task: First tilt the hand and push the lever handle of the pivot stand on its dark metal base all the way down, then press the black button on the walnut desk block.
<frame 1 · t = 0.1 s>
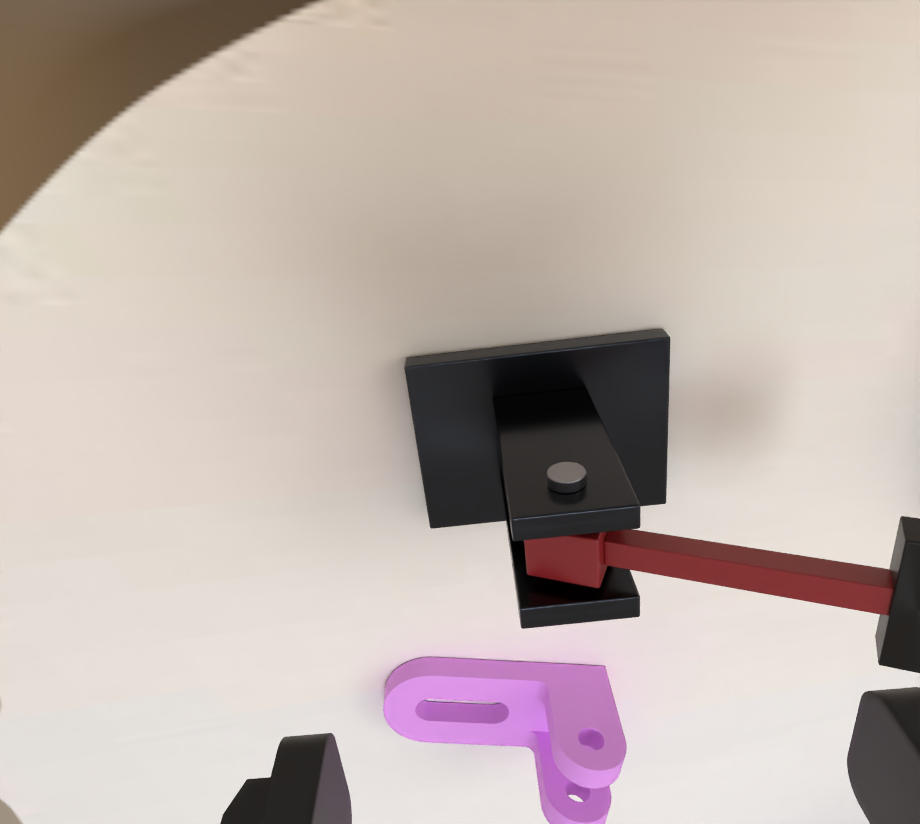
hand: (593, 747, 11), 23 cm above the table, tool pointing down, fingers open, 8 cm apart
lever handle: (714, 563, 24), point 11 cm above the table, hinge at 25.0°
pivot stand: (539, 427, 34), on the table
bracket: (491, 691, 42), on the table
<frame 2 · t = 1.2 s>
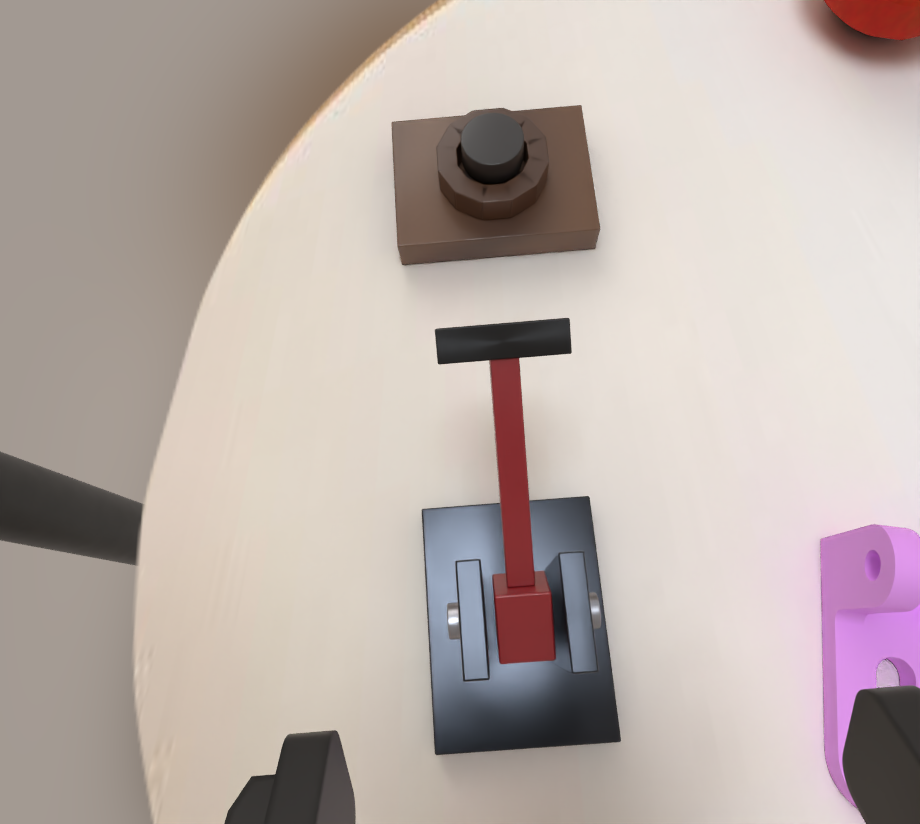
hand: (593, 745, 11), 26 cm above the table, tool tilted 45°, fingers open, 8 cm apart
lever handle: (513, 491, 27), point 11 cm above the table, hinge at 25.0°
desk button: (492, 148, 40), point 4 cm above the table, slide at 0.1 cm
button block: (492, 195, 44), on the table
apple: (868, 14, 47), on the table
pivot stand: (515, 619, 36), on the table
bracket: (878, 675, 35), on the table
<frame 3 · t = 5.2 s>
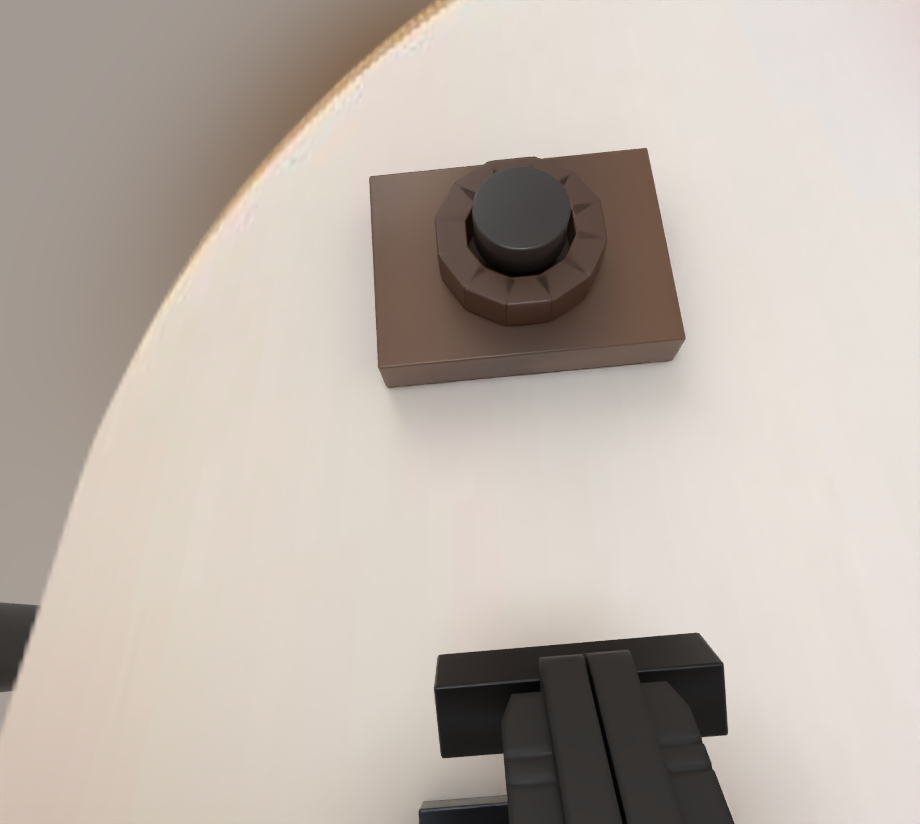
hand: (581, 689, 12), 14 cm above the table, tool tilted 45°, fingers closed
desk button: (520, 220, 26), point 4 cm above the table, slide at 0.1 cm
button block: (517, 279, 30), on the table
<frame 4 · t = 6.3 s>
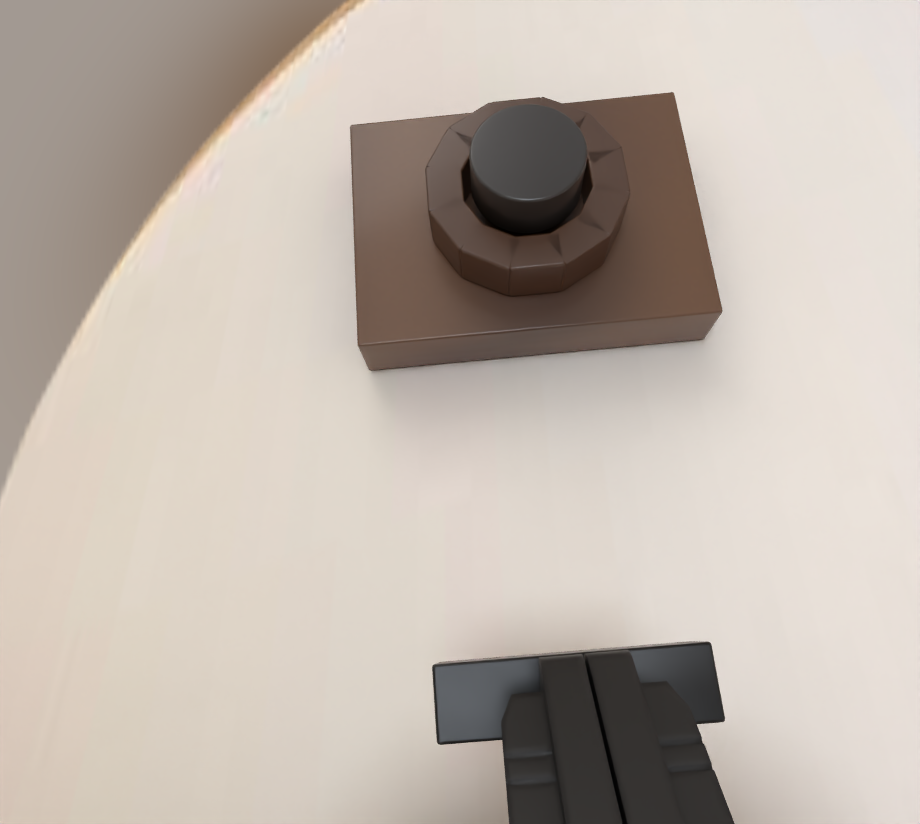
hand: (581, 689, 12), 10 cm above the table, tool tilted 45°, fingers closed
desk button: (527, 169, 22), point 4 cm above the table, slide at 0.1 cm
button block: (522, 246, 26), on the table
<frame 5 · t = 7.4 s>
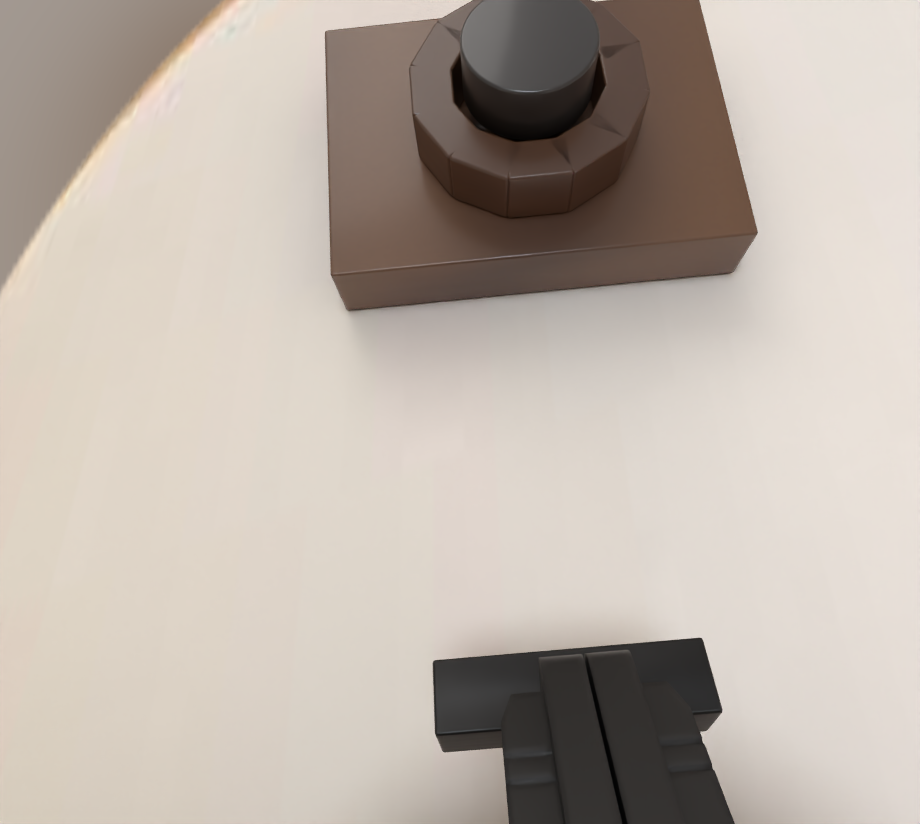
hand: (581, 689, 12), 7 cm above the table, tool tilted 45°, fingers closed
desk button: (528, 63, 19), point 4 cm above the table, slide at 0.1 cm
button block: (522, 171, 23), on the table
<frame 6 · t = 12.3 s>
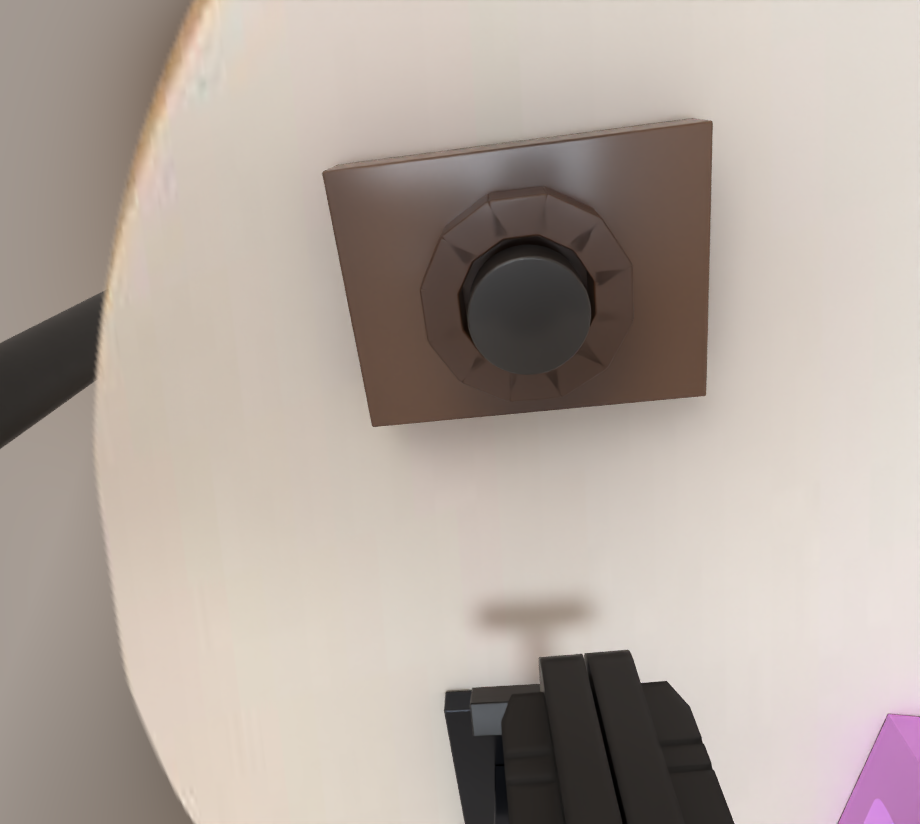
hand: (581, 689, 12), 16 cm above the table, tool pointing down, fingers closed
desk button: (527, 309, 21), point 4 cm above the table, slide at 0.1 cm
button block: (522, 274, 25), on the table
pivot stand: (546, 772, 36), on the table
bracket: (898, 806, 36), on the table
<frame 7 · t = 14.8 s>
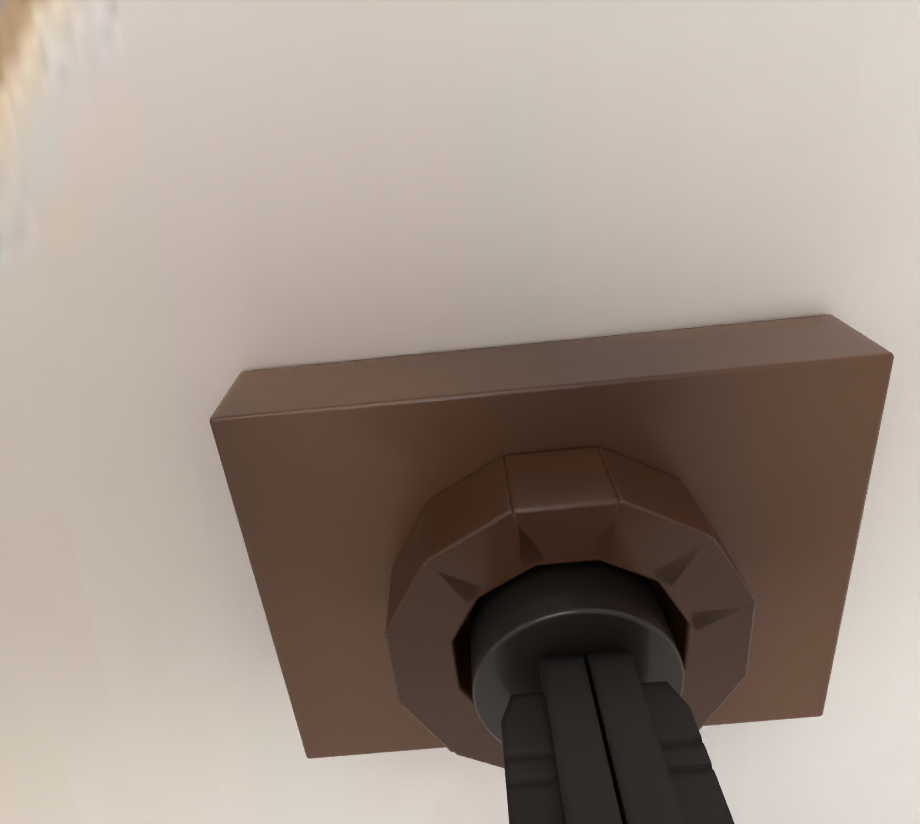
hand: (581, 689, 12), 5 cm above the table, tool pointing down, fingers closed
desk button: (570, 653, 12), point 4 cm above the table, slide at -0.4 cm, touching gripper
button block: (542, 524, 16), on the table
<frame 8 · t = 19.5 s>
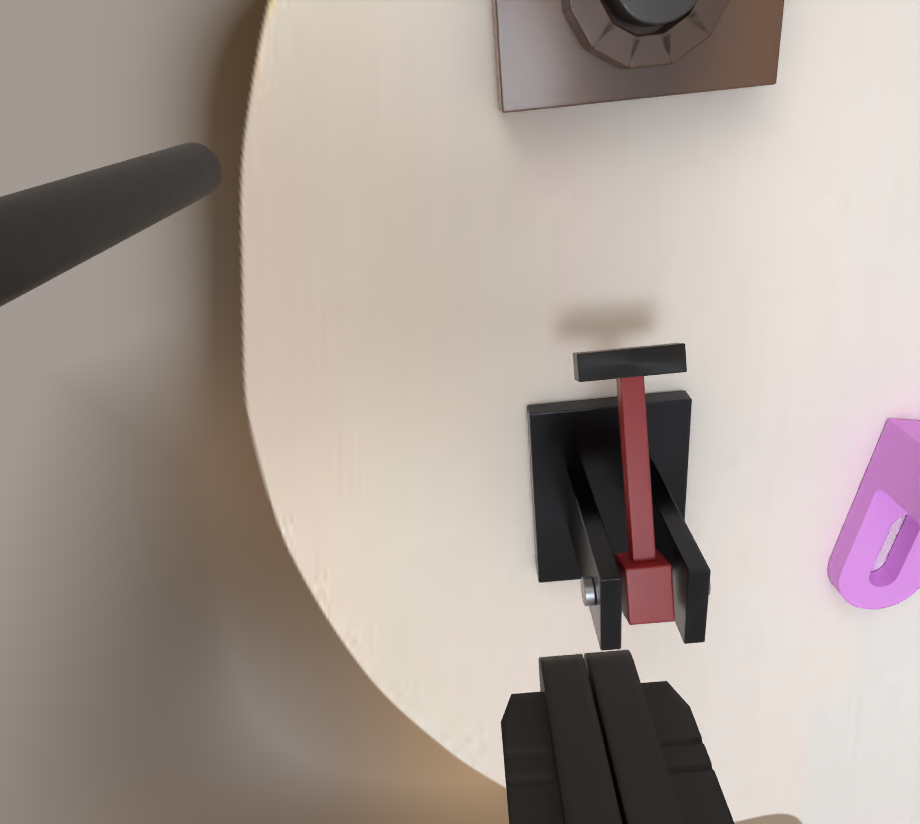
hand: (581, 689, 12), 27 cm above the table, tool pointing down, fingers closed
lever handle: (637, 483, 33), point 7 cm above the table, hinge at -20.1°
pivot stand: (606, 486, 42), on the table
bracket: (890, 512, 43), on the table
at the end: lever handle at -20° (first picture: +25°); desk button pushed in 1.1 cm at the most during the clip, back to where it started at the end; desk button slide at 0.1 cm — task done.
